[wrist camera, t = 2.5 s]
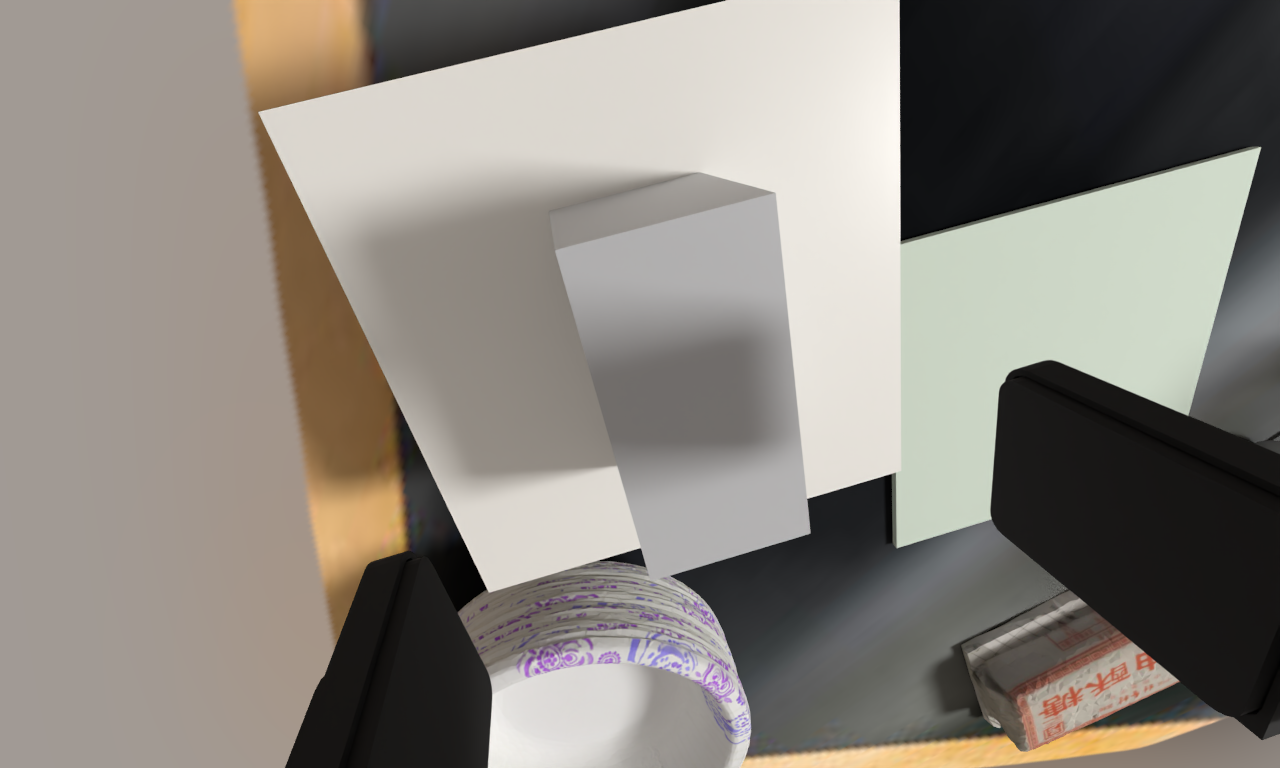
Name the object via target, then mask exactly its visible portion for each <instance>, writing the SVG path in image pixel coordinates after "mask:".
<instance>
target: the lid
mask: <svg viewBox="0 0 1280 768" xmlns="http://www.w3.org/2000/svg"><path fill="white" fill-rule="evenodd" d="M258 113H259V115H260V117H261V119H262V121H263V123H264V126H265V128H266V130H267V132H268V134H269V136H270V138H271V140H272V142H273V144H274V146H275V148H276V151H277V153H278V155H279V157H280V159H281V161H282V163H283V165H284V167H285V169H286V171H287V173H288V175H289V178H290V180H291V182H292V184H293V186H294V188H295V190H296V192H297V194H298V196H299V198H300V200H301V203H302V205H303V207H304V209H305V211H306V213H307V215H308V217H309V219H310V221H311V223H312V225H313V228H314V230H315V232H316V234H317V236H318V238H319V240H320V242H321V244H322V246H323V248H324V250H325V253H326V255H327V257H328V259H329V261H330V263H331V265H332V267H333V269H334V271H335V273H336V275H337V277H338V280H339V282H340V284H341V286H342V288H343V290H344V292H345V294H346V296H347V298H348V300H349V302H350V305H351V307H352V309H353V311H354V313H355V315H356V317H357V319H358V321H359V323H360V325H361V327H362V330H363V332H364V334H365V336H366V338H367V340H368V342H369V344H370V346H371V348H372V350H373V352H374V355H375V357H376V359H377V361H378V363H379V365H380V367H381V369H382V371H383V373H384V375H385V377H386V380H387V382H388V384H389V386H390V388H391V390H392V392H393V394H394V396H395V398H396V400H397V402H398V404H399V407H400V409H401V411H402V413H403V415H404V417H405V419H406V421H407V423H408V425H409V427H410V429H411V432H412V434H413V436H414V438H415V440H416V442H417V444H418V446H419V448H420V450H421V452H422V454H423V457H424V459H425V461H426V463H427V465H428V467H429V469H430V471H431V473H432V475H433V477H434V479H435V482H436V484H437V486H438V488H439V490H440V492H441V494H442V496H443V498H444V500H445V502H446V504H447V506H448V509H449V511H450V513H451V515H452V517H453V519H454V521H455V523H456V525H457V527H458V529H459V531H460V534H461V536H462V538H463V540H464V542H465V544H466V546H467V548H468V550H469V552H470V554H471V556H472V559H473V561H474V563H475V565H476V567H477V569H478V571H479V573H480V575H481V577H482V579H483V581H484V584H485V586H486V588H487V590H488V592H489V593H490V592H493V591H497V590H500V589H503V588H507V587H510V586H513V585H517V584H520V583H524V582H527V581H530V580H534V579H537V578H541V577H544V576H547V575H551V574H554V573H557V572H561V571H564V570H568V569H571V568H574V567H578V566H581V565H585V564H588V563H591V562H595V561H598V560H601V559H605V558H608V557H612V556H615V555H618V554H622V553H625V552H628V551H632V550H635V549H639V548H641V550H642V553H643V556H644V560H645V563H646V567H647V570H648V574H649V577H650V581H653V580H657V579H660V578H663V577H667V576H670V575H673V574H677V573H680V572H683V571H687V570H690V569H693V568H697V567H700V566H703V565H707V564H710V563H713V562H717V561H720V560H724V559H727V558H730V557H734V556H737V555H740V554H744V553H747V552H750V551H754V550H757V549H760V548H764V547H767V546H770V545H774V544H777V543H780V542H784V541H787V540H790V539H794V538H797V537H800V536H804V535H807V534H810V523H809V514H808V504H807V499H808V498H811V497H815V496H818V495H821V494H825V493H828V492H831V491H835V490H838V489H842V488H845V487H848V486H852V485H855V484H858V483H862V482H865V481H869V480H872V479H875V478H879V477H882V476H886V475H889V474H892V473H896V472H899V471H901V279H900V33H899V0H727V1H723V2H718V3H714V4H710V5H706V6H702V7H697V8H693V9H689V10H685V11H681V12H676V13H672V14H668V15H664V16H660V17H655V18H651V19H647V20H643V21H639V22H634V23H630V24H626V25H622V26H618V27H613V28H609V29H605V30H601V31H597V32H592V33H588V34H584V35H580V36H575V37H571V38H567V39H563V40H559V41H554V42H550V43H546V44H542V45H538V46H533V47H529V48H525V49H521V50H517V51H512V52H508V53H504V54H500V55H496V56H491V57H487V58H483V59H479V60H475V61H470V62H466V63H462V64H458V65H454V66H449V67H445V68H441V69H437V70H432V71H428V72H424V73H420V74H416V75H411V76H407V77H403V78H399V79H395V80H390V81H386V82H382V83H378V84H374V85H369V86H365V87H361V88H357V89H353V90H348V91H344V92H340V93H336V94H332V95H327V96H323V97H319V98H315V99H310V100H306V101H302V102H298V103H294V104H289V105H285V106H281V107H277V108H273V109H268V110H264V111H260V112H258Z"/></svg>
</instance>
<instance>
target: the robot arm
mask: <svg viewBox="0 0 1280 768" xmlns="http://www.w3.org/2000/svg"><path fill="white" fill-rule="evenodd" d="M990 514H991V518H992V521H993V523H994V525H995V526H996V528H997V529H998V530H999V531H1000V532H1001V533H1002V534H1003V535H1004V536H1005V537H1006V538H1007V539H1009V540H1010V541H1011V542H1012V543H1014V544H1015V545H1016V546H1017V547H1018V548H1020V549H1021V550H1022V551H1023V552H1024V553H1026V554H1027V555H1028V556H1029V557H1030V558H1032V559H1033V560H1034V561H1035V562H1036V563H1038V564H1039V565H1040V566H1041V567H1042V568H1044V569H1045V570H1046V571H1047V572H1048V573H1050V574H1051V575H1052V576H1053V577H1054V578H1056V579H1057V580H1058V581H1059V582H1061V583H1062V584H1063V585H1064V586H1065V587H1067V588H1068V589H1069V590H1070V591H1071V592H1073V593H1074V594H1075V595H1076V596H1077V597H1079V598H1080V599H1081V600H1082V601H1083V602H1085V603H1086V604H1087V605H1088V606H1089V607H1091V608H1092V609H1093V610H1094V611H1095V612H1097V613H1098V614H1099V615H1100V616H1101V617H1103V618H1104V619H1105V620H1106V621H1108V622H1109V623H1110V624H1111V625H1112V626H1114V627H1115V628H1116V629H1117V630H1118V631H1120V632H1121V633H1122V634H1123V635H1124V636H1126V637H1127V638H1128V639H1129V640H1130V641H1132V642H1133V643H1134V644H1135V645H1136V646H1138V647H1139V648H1140V649H1141V650H1142V651H1144V652H1145V653H1146V654H1147V655H1148V656H1150V657H1151V658H1152V659H1153V660H1155V661H1156V662H1157V663H1158V664H1159V665H1161V666H1162V667H1163V668H1164V669H1165V670H1167V671H1168V672H1169V673H1170V674H1171V675H1173V676H1174V677H1175V678H1176V679H1177V680H1179V681H1180V682H1181V683H1182V684H1183V685H1185V686H1186V687H1187V688H1188V689H1189V690H1191V691H1192V692H1193V693H1194V694H1195V695H1197V696H1198V697H1199V698H1200V699H1201V700H1203V701H1204V702H1205V703H1206V704H1208V705H1209V706H1210V707H1212V708H1213V709H1215V710H1216V711H1218V712H1220V713H1222V714H1224V715H1226V716H1230V717H1234V718H1235V719H1237V720H1238V721H1239V722H1241V723H1242V724H1243V725H1244V726H1245V727H1246V728H1248V729H1249V730H1250V731H1251V732H1253V733H1254V734H1255V735H1256V736H1258V737H1259V738H1260V739H1261V740H1264V739H1267V738H1269V737H1272V736H1275V735H1277V734H1280V454H1279V453H1276V452H1274V451H1271V450H1269V449H1267V448H1264V447H1262V446H1259V445H1257V444H1255V443H1252V442H1250V441H1247V440H1245V439H1243V438H1240V437H1238V436H1235V435H1233V434H1231V433H1228V432H1226V431H1223V430H1221V429H1219V428H1216V427H1214V426H1211V425H1209V424H1207V423H1204V422H1202V421H1199V420H1197V419H1195V418H1192V417H1190V416H1187V415H1185V414H1183V413H1180V412H1178V411H1175V410H1173V409H1171V408H1168V407H1166V406H1163V405H1161V404H1159V403H1156V402H1154V401H1151V400H1149V399H1147V398H1144V397H1142V396H1139V395H1137V394H1135V393H1132V392H1130V391H1127V390H1125V389H1123V388H1120V387H1118V386H1115V385H1113V384H1111V383H1108V382H1106V381H1103V380H1101V379H1099V378H1096V377H1094V376H1091V375H1089V374H1087V373H1084V372H1082V371H1079V370H1077V369H1075V368H1072V367H1070V366H1067V365H1065V364H1063V363H1060V362H1058V361H1053V360H1045V361H1041V362H1038V363H1034V364H1031V365H1028V366H1024V367H1021V368H1018V369H1014V370H1013V371H1011V372H1009V374H1008V375H1007V377H1006V379H1005V382H1004V383H1003V384H1002V385H1001V386H1000V389H999V397H998V411H997V424H996V438H995V452H994V465H993V479H992V493H991V506H990ZM491 712H492V685H491V680H490V676H489V674H488V671H487V669H486V667H485V665H484V663H483V661H482V659H481V657H480V656H479V654H478V652H477V650H476V648H475V646H474V644H473V642H472V640H471V638H470V636H469V634H468V632H467V630H466V628H465V626H464V625H463V623H462V621H461V619H460V617H459V615H458V613H457V611H456V609H455V607H454V605H453V603H452V601H451V599H450V597H449V596H448V594H447V592H446V590H445V588H444V586H443V584H442V582H441V580H440V578H439V576H438V574H437V572H436V570H435V568H434V567H433V565H432V563H431V561H430V560H429V559H428V558H427V557H421V558H417V557H416V555H415V554H414V553H413V552H411V551H406V552H403V553H400V554H396V555H393V556H390V557H386V558H383V559H379V560H376V561H373V562H371V563H369V564H368V565H367V567H366V569H365V571H364V574H363V576H362V579H361V581H360V584H359V587H358V589H357V592H356V595H355V597H354V600H353V602H352V605H351V608H350V610H349V613H348V616H347V618H346V621H345V623H344V626H343V629H342V631H341V634H340V637H339V639H338V642H337V644H336V647H335V650H334V652H333V655H332V658H331V660H330V663H329V665H328V668H327V671H326V674H325V676H324V677H323V678H322V679H321V680H320V682H319V684H318V686H317V688H316V690H315V692H314V694H313V697H312V700H311V702H310V705H309V707H308V710H307V712H306V715H305V718H304V720H303V723H302V725H301V728H300V730H299V733H298V736H297V738H296V741H295V743H294V746H293V749H292V751H291V754H290V756H289V759H288V762H287V764H286V767H285V768H488V758H489V743H490V727H491Z"/></svg>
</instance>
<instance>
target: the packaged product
mask: <svg viewBox="0 0 1280 768" xmlns="http://www.w3.org/2000/svg"><path fill="white" fill-rule="evenodd" d="M961 647H962V651H963V654H964V657H965V661H966V664H967V667H968V671H969V674H970V677H971V681H972V683H973V685H974V688H975V692H976V696H977V699H978V702H979V705H980V708H981V710H982V713H983V716H984V719H985V720H987V721H988V722H989V723H990V724H992V725H993V726H994V727H997V728H1000V727H1001V726H1002V727H1003V728H1004V730H1005V732H1006V734H1007V736H1008V737H1009V738H1010V740H1011V741H1012V742H1014V743H1015V745H1016V747H1017V748H1018V749H1019V750H1020V751H1026V752H1028V751H1030V750H1032V749H1036V748H1038V747H1040V746H1042V745H1044V744H1048V743H1050V742H1051V741H1054V740H1056V739H1058V738H1060V737H1063V736H1064V735H1066V734H1067V733H1070V732H1072V731H1075V730H1078V729H1080V728H1082V727H1084V726H1086V725H1088V724H1091V723H1093V722H1096V721H1098V720H1100V719H1102V718H1104V717H1106V716H1108V715H1110V714H1112V713H1114V712H1116V711H1118V710H1120V709H1122V708H1124V707H1127V706H1129V705H1131V704H1134V703H1136V702H1138V701H1139V700H1142V699H1144V698H1146V697H1148V696H1150V695H1152V694H1154V693H1156V692H1159V691H1161V690H1163V689H1165V688H1168V687H1170V686H1172V685H1174V684H1175V683H1177V682H1180V681H1179V680H1177V679H1176V678H1175V677H1174V676H1173V675H1171V674H1170V673H1169V672H1168V671H1167V670H1165V669H1164V668H1163V667H1162V666H1161V665H1159V664H1158V663H1157V662H1156V661H1155V660H1153V659H1152V658H1151V657H1150V656H1148V655H1147V654H1146V653H1145V652H1144V651H1142V650H1141V649H1140V648H1139V647H1138V646H1136V645H1135V644H1134V643H1133V642H1132V641H1130V640H1129V639H1128V638H1127V637H1126V636H1124V635H1123V634H1122V633H1121V632H1120V631H1118V630H1117V629H1116V628H1115V627H1114V626H1112V625H1111V624H1110V623H1109V622H1108V621H1106V620H1105V619H1104V618H1103V617H1101V616H1100V615H1099V614H1098V613H1097V612H1095V611H1094V610H1093V609H1092V608H1091V607H1089V606H1088V605H1087V604H1086V603H1085V602H1083V601H1082V600H1081V599H1080V598H1079V597H1077V596H1076V595H1075V594H1074V593H1073V592H1071V591H1070V590H1069V591H1067V592H1065V593H1062V594H1060V595H1058V596H1056V597H1055V598H1053V599H1050V600H1048V601H1046V602H1045V603H1043V604H1041V605H1039V606H1038V607H1036V608H1034V609H1032V610H1030V611H1029V612H1026V613H1024V614H1022V615H1020V616H1018V617H1016V618H1014V619H1013V620H1011V621H1009V622H1007V623H1005V624H1003V625H1002V626H1000V627H998V628H996V629H994V630H992V631H989V632H987V633H984V634H982V635H980V636H977V637H975V638H973V639H971V640H969V641H967V642H966V643H964V644H961Z"/></svg>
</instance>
